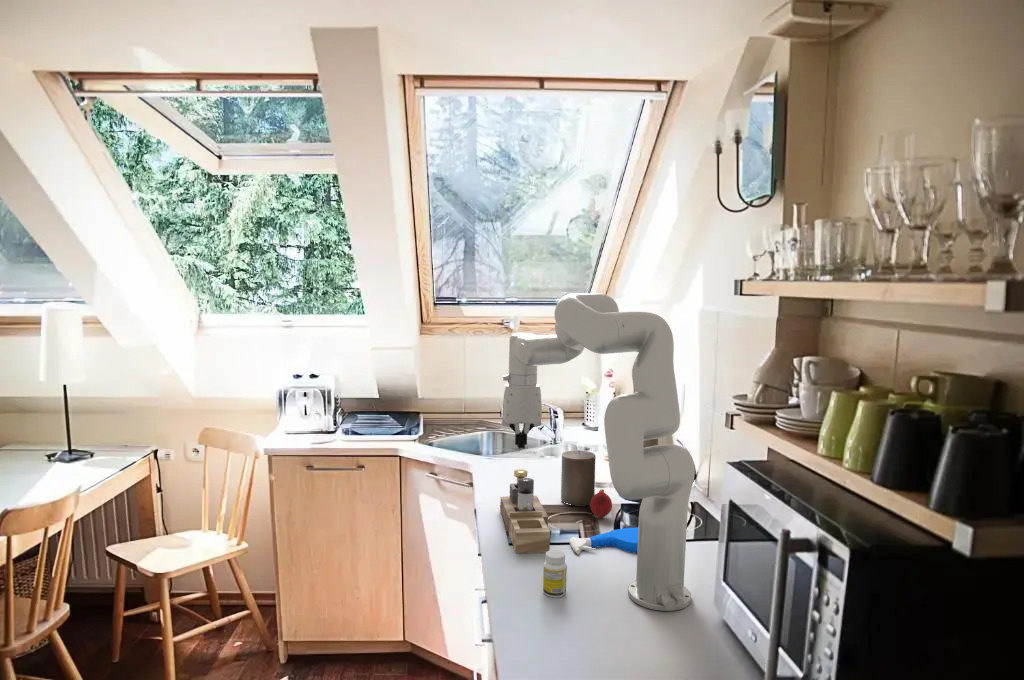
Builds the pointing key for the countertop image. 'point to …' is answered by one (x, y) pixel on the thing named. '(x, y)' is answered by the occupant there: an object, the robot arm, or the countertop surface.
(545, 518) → the socket block
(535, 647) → the countertop surface
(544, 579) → the supplement bottle
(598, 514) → the onion
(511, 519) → the frame
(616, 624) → the countertop surface
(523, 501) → the capped metal cylinder
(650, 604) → the robot arm
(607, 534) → the spray bottle
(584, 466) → the pillar candle
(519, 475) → the round brass peg
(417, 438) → the countertop surface
